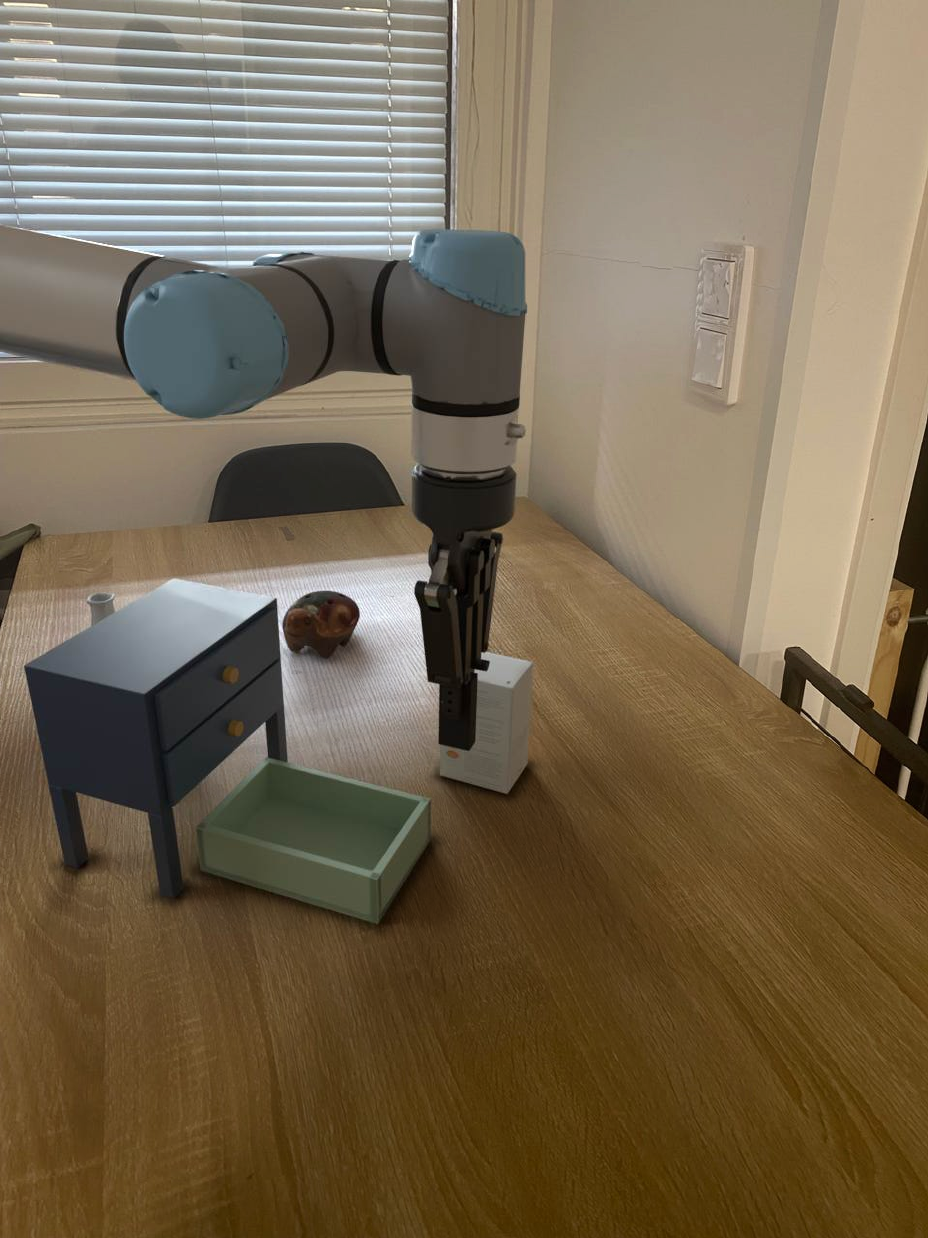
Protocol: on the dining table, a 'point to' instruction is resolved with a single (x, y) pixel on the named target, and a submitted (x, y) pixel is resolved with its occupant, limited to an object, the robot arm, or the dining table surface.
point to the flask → (100, 606)
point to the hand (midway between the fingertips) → (456, 742)
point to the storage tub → (316, 838)
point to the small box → (496, 727)
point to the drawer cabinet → (156, 706)
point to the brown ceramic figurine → (320, 622)
